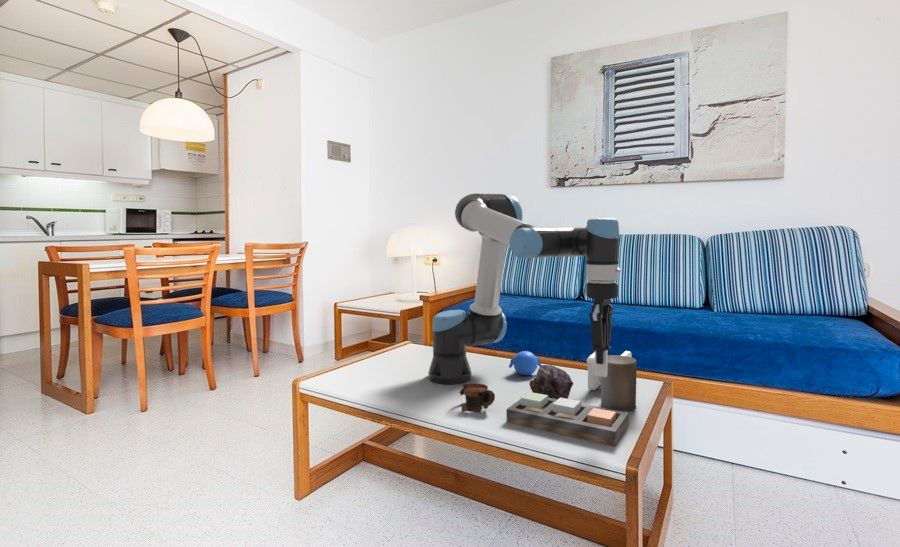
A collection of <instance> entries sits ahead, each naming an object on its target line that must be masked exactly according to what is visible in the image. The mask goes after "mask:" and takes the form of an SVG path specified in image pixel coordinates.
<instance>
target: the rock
mask: <svg viewBox="0 0 900 547" xmlns="http://www.w3.org/2000/svg"><path fill="white" fill-rule="evenodd" d="M573 386H574V382H573V380H572V378H571V375H570V374H568V372H566V371H565V370H563V369H561V368H559V367H556V366H555V365H552V364H544V365H543V364H541V366H539V368H538V369H537V372H536V375H535V377H534V378H533V379H531V380H530V381H529V387H530V390H531V392H533V393H538V394H544V395H548V398H553V399H559V398H566V399H569V396H570V393H571V389H572V387H573Z"/></svg>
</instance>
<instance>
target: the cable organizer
mask: <svg viewBox="0 0 900 547" xmlns="http://www.w3.org/2000/svg"><path fill="white" fill-rule="evenodd" d="M620 355H621V356H628V357H632V352H631V351H630V350H629V351H628V350H625V351H624V352H623V353H622V354H620ZM586 364H587V388H588V390H591V391H595V390H597V389H598V388H599V387H601V376H595V351H594V352H593V353H592V354H590V355H589V356H588V357H587V359H586Z"/></svg>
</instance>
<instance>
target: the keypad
mask: <svg viewBox="0 0 900 547" xmlns="http://www.w3.org/2000/svg"><path fill="white" fill-rule="evenodd" d="M557 400H558V399H555V398H548V403H547V404H546V405H544V406H543V407H542V408H541V409H538V408H533V407H528V406H523V405H521V398H519V400H517V401H516V402H514V403H513V404H511V405H510V406H509V407H507V408H506V423H511V424H514V425H518V426H523V427H527V428H532V429H537V430H542V431H546V432H551V433H553V434H558V435H564V436H567V437H572V438H576V439H581V440H585V441H588V442H589V441H590V442H594V443H598V444H603V445H607V446H611V447H616V446H617V444H618V443H619V441H620V440H621V438H622V437H623V435H624V434H625V432H626V430H627V429H628V427H629V425H630V420H629V418H630V411H618V410H613V409H607V408H605V407H603V406H596V405H590V404H587V403H586V404H585V403H581V409H580V410H579V411H578V412H577V413H576V414H575V415H574V416H573V415H568V414H563V413H558V412H553V403H554V402H555V401H557ZM593 408H598V409H603V410H608V411H614V412H616V420H615V422H614V423H613V424H612V426H611V427H606V426H601V425H597V424H592V423H587V415H588V413H589V412H590V411H591V410H592V409H593Z"/></svg>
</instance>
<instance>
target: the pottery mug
mask: <svg viewBox="0 0 900 547" xmlns="http://www.w3.org/2000/svg"><path fill="white" fill-rule="evenodd" d="M459 395H460V396H463V395H464V398H465V402H463V403H461V404H460V405H461V406H460V407H461V412H471V413H481V412H482V407H483V409H484V410H486V409H488V408H489V407H490V406H491V405H493V403H494V401H495V399H496V394H495V393H494V391H493V390H490V389H489V386H488V385H487V384H484V383H483V384H482V383H478V382H469V383H467V382H466V383H463V384H462V389H461V390H460V391H459Z"/></svg>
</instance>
